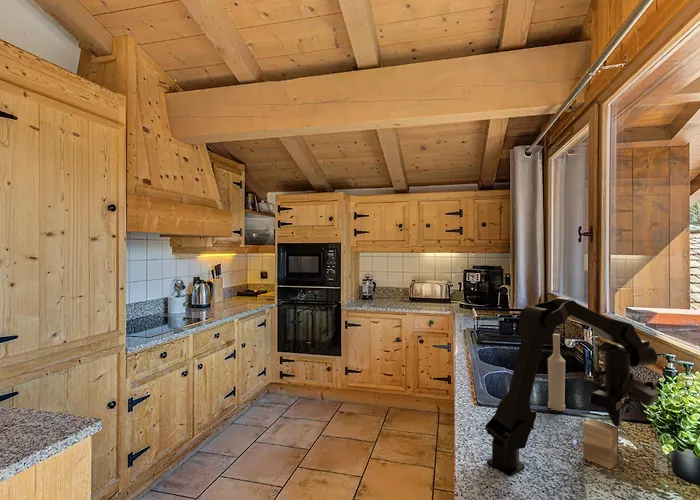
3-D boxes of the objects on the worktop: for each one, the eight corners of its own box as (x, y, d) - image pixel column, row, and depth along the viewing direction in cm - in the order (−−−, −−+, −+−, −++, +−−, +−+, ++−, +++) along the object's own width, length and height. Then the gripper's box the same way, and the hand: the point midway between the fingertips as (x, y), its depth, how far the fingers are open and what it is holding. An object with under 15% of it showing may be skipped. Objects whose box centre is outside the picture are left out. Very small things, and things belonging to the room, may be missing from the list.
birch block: (610, 469, 90) (610, 432, 90) (583, 457, 95) (583, 422, 95) (618, 463, 92) (618, 427, 92) (591, 452, 97) (591, 418, 97)
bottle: (544, 406, 125) (544, 333, 126) (555, 404, 127) (555, 332, 127) (557, 413, 121) (557, 336, 121) (569, 410, 122) (569, 335, 123)
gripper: (639, 383, 87) (639, 449, 87) (667, 369, 98) (667, 428, 98) (588, 370, 96) (587, 430, 96) (618, 359, 107) (618, 413, 107)
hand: (616, 425), depth 99 cm, fingers closed
